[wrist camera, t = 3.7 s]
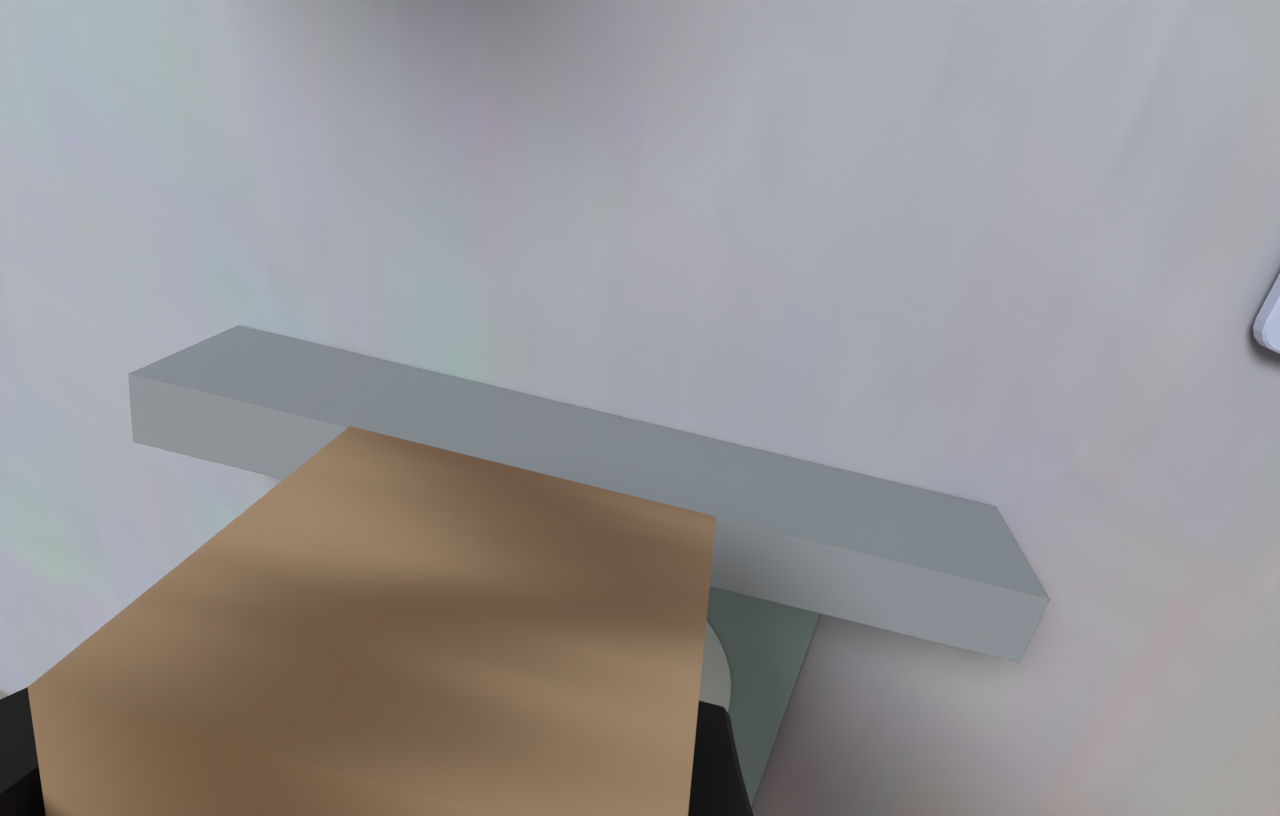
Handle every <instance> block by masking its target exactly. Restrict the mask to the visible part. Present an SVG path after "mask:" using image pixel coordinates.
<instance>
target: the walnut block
mask: <svg viewBox="0 0 1280 816" xmlns="http://www.w3.org/2000/svg"><path fill="white" fill-rule="evenodd" d="M715 522H716V516H712V515H708V514H704V513H700V512H696V511H692V510H688V509H684V508H680V507H676V506H671V505H667V504H663V503H659V502H655V501H651V500H647V499H643V498H639V497H635V496H631V495H627V494H623V493H619V492H615V491H611V490H607V489H603V488H599V487H595V486H591V485H587V484H583V483H578V482H574V481H570V480H566V479H562V478H558V477H554V476H550V475H546V474H542V473H538V472H534V471H530V470H526V469H522V468H518V467H514V466H510V465H506V464H502V463H498V462H494V461H490V460H485V459H481V458H477V457H473V456H469V455H465V454H461V453H457V452H453V451H449V450H445V449H441V448H437V447H433V446H429V445H425V444H421V443H417V442H413V441H409V440H405V439H401V438H397V437H392V436H388V435H384V434H380V433H376V432H372V431H368V430H364V429H360V428H356V427H352V426H349V427H348V428H347V429H346V430H344V431H343V432H342V433H341V434H340V435H338V436H337V437H336V438H335V439H333V440H332V441H331V442H330V443H328V444H327V445H326V446H325V447H323V448H322V449H321V450H320V451H319V452H317V453H316V454H315V455H314V456H312V457H311V458H310V459H309V460H307V461H306V462H305V463H304V464H303V465H301V466H300V467H299V468H298V469H296V470H295V471H294V472H293V473H291V474H290V475H289V476H288V477H286V478H285V479H284V480H283V481H282V482H280V483H279V484H278V485H277V486H275V487H274V488H273V489H272V490H270V491H269V492H268V493H267V494H266V495H264V496H263V497H262V498H261V499H259V500H258V501H257V502H256V503H254V504H253V505H252V506H251V507H250V508H248V509H247V510H246V511H245V512H243V513H242V514H241V515H240V516H238V517H237V518H236V519H235V520H233V521H232V522H231V523H230V524H229V525H227V526H226V527H225V528H224V529H222V530H221V531H220V532H219V533H217V534H216V535H215V536H214V537H213V538H211V539H210V540H209V541H208V542H206V543H205V544H204V545H203V546H201V547H200V548H199V549H198V550H196V551H195V552H194V553H193V554H192V555H190V556H189V557H188V558H187V559H185V560H184V561H183V562H182V563H180V564H179V565H178V566H177V567H176V568H174V569H173V570H172V571H171V572H169V573H168V574H167V575H166V576H164V577H163V578H162V579H161V580H159V581H158V582H157V583H156V584H155V585H153V586H152V587H151V588H150V589H148V590H147V591H146V592H145V593H143V594H142V595H141V596H140V597H139V598H137V599H136V600H135V601H134V602H132V603H131V604H130V605H129V606H127V607H126V608H125V609H124V610H123V611H121V612H120V613H119V614H118V615H116V616H115V617H114V618H113V619H111V620H110V621H109V622H108V623H106V624H105V625H104V626H103V627H102V628H100V629H99V630H98V631H97V632H95V633H94V634H93V635H92V636H90V637H89V638H88V639H87V640H86V641H84V642H83V643H82V644H81V645H79V646H78V647H77V648H76V649H74V650H73V651H72V652H71V653H69V654H68V655H67V656H66V657H65V658H63V659H62V660H61V661H60V662H58V663H57V664H56V665H55V666H53V667H52V668H51V669H50V670H49V671H47V672H46V673H45V674H44V675H42V676H41V677H40V678H39V679H37V680H36V681H35V682H34V683H33V684H31V685H30V686H29V687H28V694H29V701H30V708H31V715H32V722H33V729H34V736H35V743H36V750H37V757H38V764H39V772H40V779H41V786H42V793H43V800H44V807H45V814H46V816H688V810H689V799H690V789H691V778H692V767H693V757H694V746H695V735H696V725H697V714H698V703H699V693H700V682H701V672H702V661H703V650H704V640H705V629H706V618H707V608H708V597H709V586H710V576H711V565H712V554H713V544H714V533H715Z"/></svg>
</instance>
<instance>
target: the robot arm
mask: <svg viewBox="0 0 1280 816" xmlns="http://www.w3.org/2000/svg"><path fill="white" fill-rule="evenodd" d="M1253 333H1254V338H1255V339H1256V340H1257V341H1258V343H1259V344H1260V345H1262V346H1264V347H1266V348H1268V349H1270V350H1272V351H1275V352H1277V353H1280V274H1279V276H1278V277H1277V279H1276V281H1275V283H1274V285H1273V287H1272V289H1271V291H1270V293H1269V294H1268V296H1267V298H1266V300H1265V302H1264V304H1263V306H1262V308H1261V310H1260V311H1259V313H1258V315H1257V317H1256V319H1255V323H1254V326H1253ZM0 816H46V814H45V807H44V800H43V793H42V786H41V779H40V772H39V764H38V757H37V750H36V743H35V736H34V729H33V722H32V715H31V708H30V701H29V694H28V687H27V688H25V689H23V690H21V691H18V692H16V693H14V694H12V695H10V696H7V697H5V698H3V699H1V700H0ZM688 816H753V813H752V809H751V805H750V802H749V798H748V794H747V791H746V787H745V783H744V780H743V776H742V772H741V767H740V763H739V759H738V755H737V750H736V746H735V741H734V736H733V731H732V725H731V718H730V715H729V714H728V712H727V711H726V709H725V708H724V707H722V706H719V705H715V704H711V703H707V702H703V701H699V703H698V714H697V725H696V735H695V746H694V757H693V767H692V778H691V789H690V799H689V810H688Z"/></svg>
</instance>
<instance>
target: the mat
mask: <svg viewBox="0 0 1280 816" xmlns="http://www.w3.org/2000/svg"><path fill="white" fill-rule="evenodd" d="M819 615H820V613H817V612H813V611H809V610H805V609H801V608H797V607H793V606H789V605H785V604H781V603H777V602H773V601H769V600H765V599H761V598H757V597H753V596H749V595H745V594H741V593H737V592H733V591H729V590H725V589H721V588H717V587H713V586H709V597H708V608H707V618H706V629H705V640H704V650H703V661H702V672H701V682H700V693H699V701H703V702H707V703H711V704H715V705H719V706H722V707H724V708H725V709H726V711H727V712H728V714H729V715H730V718H731V725H732V731H733V736H734V741H735V746H736V750H737V755H738V759H739V763H740V767H741V772H742V776H743V780H744V783H745V787H746V791H747V794H748V798H749V802H750V805H751V807H752V804H753V801H754V798H755V796H756V793H757V790H758V787H759V784H760V781H761V779H762V776H763V773H764V770H765V767H766V765H767V762H768V759H769V756H770V753H771V750H772V748H773V745H774V742H775V739H776V736H777V734H778V731H779V728H780V725H781V722H782V719H783V717H784V714H785V711H786V708H787V705H788V703H789V700H790V697H791V694H792V691H793V689H794V686H795V683H796V680H797V677H798V674H799V672H800V669H801V666H802V663H803V660H804V658H805V655H806V652H807V649H808V646H809V643H810V641H811V638H812V635H813V632H814V629H815V627H816V624H817V621H818V618H819Z"/></svg>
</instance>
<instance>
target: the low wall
mask: <svg viewBox="0 0 1280 816" xmlns="http://www.w3.org/2000/svg"><path fill="white" fill-rule="evenodd" d="M129 387H130V402H131V417H132V431H133V442H136V443H140V444H144V445H148V446H152V447H156V448H160V449H164V450H168V451H172V452H176V453H180V454H184V455H188V456H192V457H196V458H200V459H204V460H208V461H212V462H216V463H220V464H224V465H228V466H232V467H236V468H240V469H244V470H248V471H252V472H256V473H260V474H264V475H268V476H272V477H276V478H280V479H285V478H286V477H288V476H289V475H290V474H291V473H293V472H294V471H295V470H296V469H298V468H299V467H300V466H301V465H303V464H304V463H305V462H306V461H307V460H309V459H310V458H311V457H312V456H314V455H315V454H316V453H317V452H319V451H320V450H321V449H322V448H323V447H325V446H326V445H327V444H328V443H330V442H331V441H332V440H333V439H335V438H336V437H337V436H338V435H340V434H341V433H342V432H343V431H344V430H346V429H347V428H348V427H349V426H352V427H356V428H360V429H364V430H368V431H372V432H376V433H380V434H384V435H388V436H392V437H397V438H401V439H405V440H409V441H413V442H417V443H421V444H425V445H429V446H433V447H437V448H441V449H445V450H449V451H453V452H457V453H461V454H465V455H469V456H473V457H477V458H481V459H485V460H490V461H494V462H498V463H502V464H506V465H510V466H514V467H518V468H522V469H526V470H530V471H534V472H538V473H542V474H546V475H550V476H554V477H558V478H562V479H566V480H570V481H574V482H578V483H583V484H587V485H591V486H595V487H599V488H603V489H607V490H611V491H615V492H619V493H623V494H627V495H631V496H635V497H639V498H643V499H647V500H651V501H655V502H659V503H663V504H667V505H671V506H676V507H680V508H684V509H688V510H692V511H696V512H700V513H704V514H708V515H712V516H716V522H715V533H714V544H713V554H712V565H711V576H710V586H713V587H717V588H721V589H725V590H729V591H733V592H737V593H741V594H745V595H749V596H753V597H757V598H761V599H765V600H769V601H773V602H777V603H781V604H785V605H789V606H793V607H797V608H801V609H805V610H809V611H813V612H817V613H821V614H825V615H829V616H833V617H837V618H841V619H845V620H849V621H853V622H857V623H861V624H865V625H869V626H873V627H877V628H881V629H885V630H889V631H893V632H897V633H901V634H905V635H909V636H913V637H917V638H921V639H925V640H929V641H933V642H937V643H941V644H945V645H949V646H953V647H957V648H961V649H965V650H969V651H973V652H977V653H981V654H985V655H989V656H993V657H997V658H1001V659H1005V660H1009V661H1013V662H1017V663H1019V661H1020V659H1021V657H1022V655H1023V653H1024V651H1025V649H1026V647H1027V645H1028V643H1029V641H1030V639H1031V637H1032V635H1033V633H1034V631H1035V629H1036V627H1037V625H1038V623H1039V621H1040V619H1041V617H1042V615H1043V613H1044V611H1045V609H1046V607H1047V605H1048V603H1049V601H1050V598H1049V597H1048V595H1047V593H1046V592H1045V590H1044V588H1043V586H1042V585H1041V583H1040V581H1039V580H1038V578H1037V576H1036V574H1035V573H1034V571H1033V569H1032V567H1031V566H1030V564H1029V562H1028V561H1027V559H1026V557H1025V555H1024V554H1023V552H1022V550H1021V549H1020V547H1019V545H1018V543H1017V542H1016V540H1015V538H1014V537H1013V535H1012V533H1011V531H1010V530H1009V528H1008V526H1007V524H1006V523H1005V521H1004V519H1003V518H1002V516H1001V514H1000V512H999V511H998V509H997V507H995V506H991V505H987V504H983V503H978V502H974V501H970V500H966V499H962V498H958V497H953V496H949V495H945V494H941V493H937V492H932V491H928V490H924V489H920V488H916V487H912V486H907V485H903V484H899V483H895V482H891V481H887V480H882V479H878V478H874V477H870V476H866V475H861V474H857V473H853V472H849V471H845V470H841V469H836V468H832V467H828V466H824V465H820V464H815V463H811V462H807V461H803V460H799V459H795V458H790V457H786V456H782V455H778V454H774V453H769V452H765V451H761V450H757V449H753V448H749V447H744V446H740V445H736V444H732V443H728V442H724V441H719V440H715V439H711V438H707V437H703V436H698V435H694V434H690V433H686V432H682V431H678V430H673V429H669V428H665V427H661V426H657V425H652V424H648V423H644V422H640V421H636V420H632V419H627V418H623V417H619V416H615V415H611V414H607V413H602V412H598V411H594V410H590V409H586V408H581V407H577V406H573V405H569V404H565V403H561V402H556V401H552V400H548V399H544V398H540V397H535V396H531V395H527V394H523V393H519V392H515V391H510V390H506V389H502V388H498V387H494V386H490V385H485V384H481V383H477V382H473V381H469V380H464V379H460V378H456V377H452V376H448V375H444V374H439V373H435V372H431V371H427V370H423V369H418V368H414V367H410V366H406V365H402V364H398V363H393V362H389V361H385V360H381V359H377V358H372V357H368V356H364V355H360V354H356V353H352V352H347V351H343V350H339V349H335V348H331V347H327V346H322V345H318V344H314V343H310V342H306V341H301V340H297V339H293V338H289V337H285V336H281V335H276V334H272V333H268V332H264V331H260V330H255V329H251V328H247V327H243V326H239V325H238V326H236V327H234V328H231V329H229V330H227V331H225V332H222V333H220V334H218V335H216V336H213V337H211V338H209V339H206V340H204V341H202V342H200V343H197V344H195V345H193V346H191V347H188V348H186V349H184V350H182V351H179V352H177V353H175V354H173V355H170V356H168V357H166V358H164V359H161V360H159V361H157V362H155V363H152V364H150V365H148V366H145V367H143V368H141V369H139V370H136V371H134V372H132V373H130V374H129Z"/></svg>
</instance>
